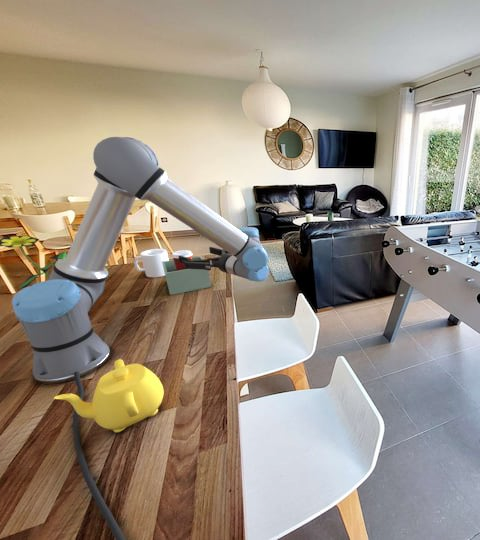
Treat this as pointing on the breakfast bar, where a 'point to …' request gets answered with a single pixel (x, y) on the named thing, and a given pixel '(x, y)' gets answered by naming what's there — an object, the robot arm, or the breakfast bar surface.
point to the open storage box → (185, 278)
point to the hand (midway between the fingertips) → (195, 254)
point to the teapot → (121, 397)
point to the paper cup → (176, 259)
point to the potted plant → (26, 241)
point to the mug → (152, 262)
